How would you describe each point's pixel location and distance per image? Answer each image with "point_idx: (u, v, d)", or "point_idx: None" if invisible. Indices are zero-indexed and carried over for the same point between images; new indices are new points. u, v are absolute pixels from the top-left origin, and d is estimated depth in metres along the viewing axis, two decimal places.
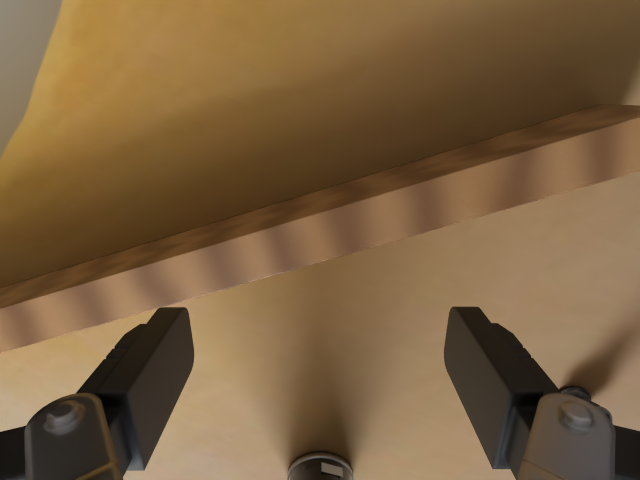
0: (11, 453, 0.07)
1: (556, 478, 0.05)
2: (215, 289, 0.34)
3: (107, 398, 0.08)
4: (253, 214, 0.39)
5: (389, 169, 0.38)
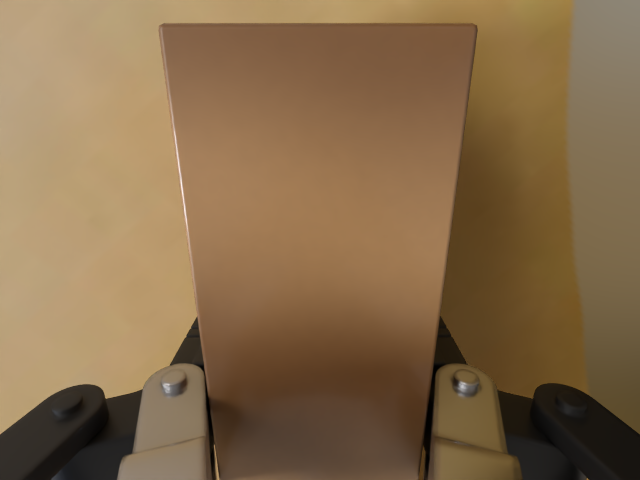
0: (129, 414, 0.08)
1: (464, 446, 0.06)
2: None
3: (203, 369, 0.08)
4: None
5: None
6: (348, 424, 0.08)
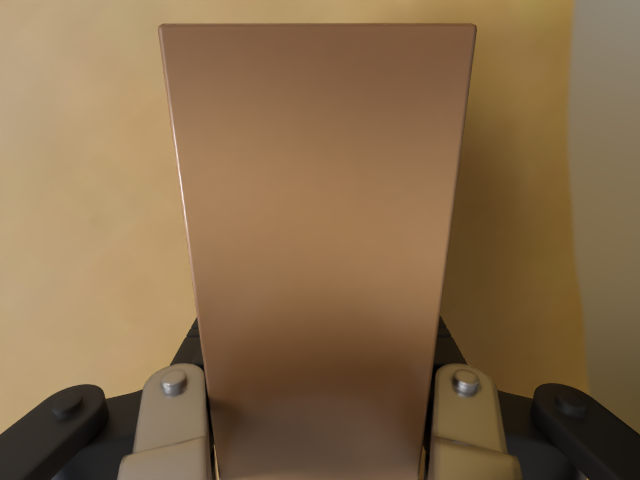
0: (129, 414, 0.08)
1: (464, 446, 0.06)
2: None
3: (203, 368, 0.08)
4: None
5: None
6: (347, 424, 0.08)
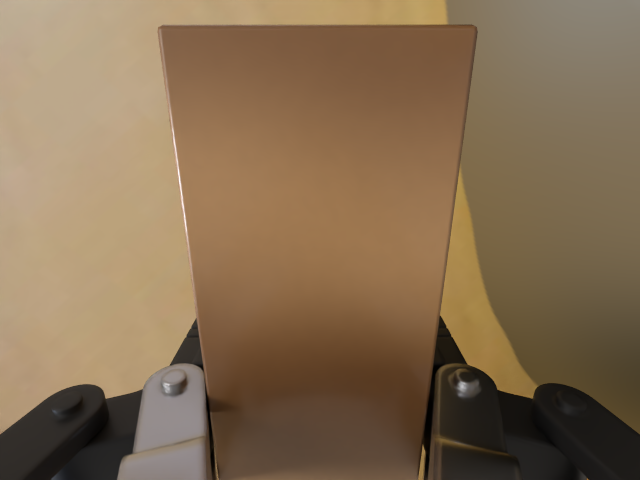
0: (129, 414, 0.08)
1: (464, 446, 0.06)
2: None
3: (203, 368, 0.08)
4: None
5: None
6: (347, 425, 0.08)
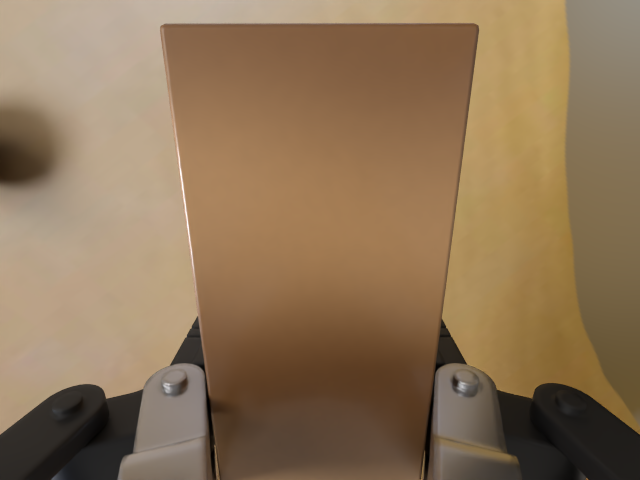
0: (129, 414, 0.08)
1: (464, 446, 0.06)
2: None
3: (204, 368, 0.08)
4: None
5: None
6: (349, 426, 0.08)
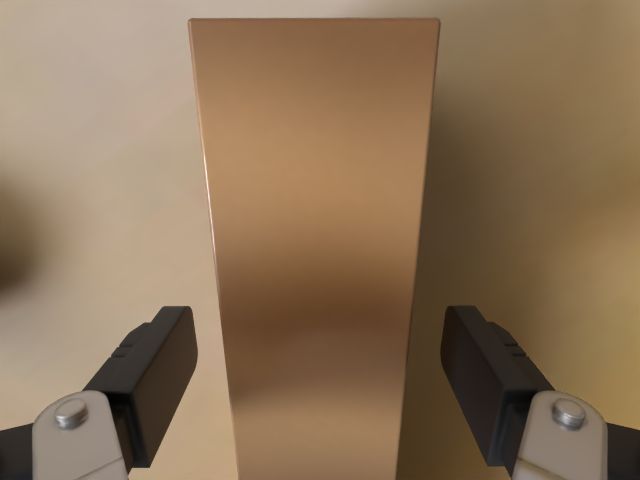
0: (19, 450, 0.07)
1: (550, 475, 0.05)
2: None
3: (113, 396, 0.08)
4: None
5: None
6: (341, 360, 0.09)
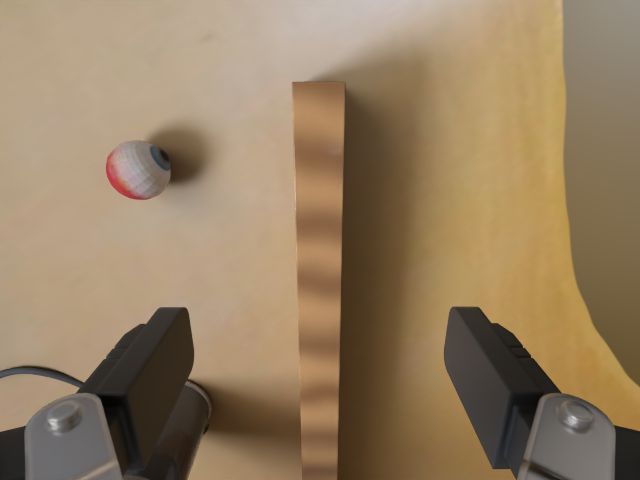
0: (11, 453, 0.07)
1: (556, 478, 0.05)
2: (303, 427, 0.44)
3: (107, 398, 0.08)
4: None
5: None
6: (325, 169, 0.34)
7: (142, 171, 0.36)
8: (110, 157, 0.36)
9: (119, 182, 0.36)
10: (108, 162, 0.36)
